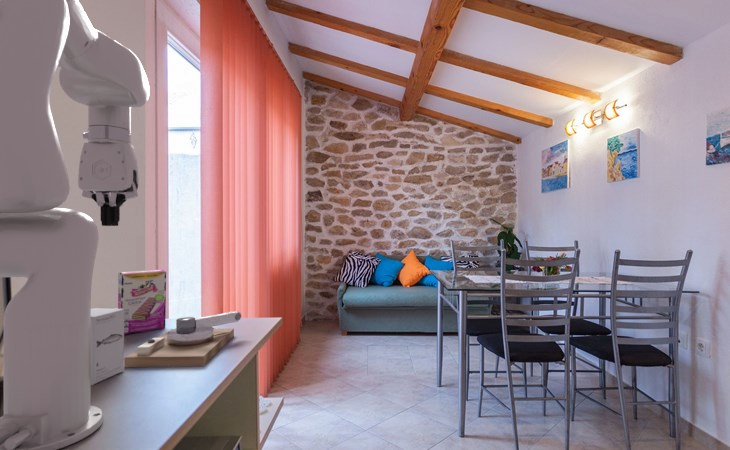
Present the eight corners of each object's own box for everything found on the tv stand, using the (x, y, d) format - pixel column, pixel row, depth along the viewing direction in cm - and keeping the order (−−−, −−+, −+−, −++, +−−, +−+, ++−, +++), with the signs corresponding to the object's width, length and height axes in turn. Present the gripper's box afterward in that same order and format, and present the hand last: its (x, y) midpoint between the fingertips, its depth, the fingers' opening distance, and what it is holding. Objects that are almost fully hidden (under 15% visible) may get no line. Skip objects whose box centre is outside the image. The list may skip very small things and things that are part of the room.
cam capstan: (178, 348, 86) (178, 325, 86) (160, 339, 93) (160, 318, 93) (251, 332, 100) (251, 312, 100) (230, 325, 106) (230, 306, 106)
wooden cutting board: (203, 365, 82) (203, 345, 82) (124, 367, 81) (124, 346, 81) (233, 336, 104) (233, 319, 104) (171, 336, 103) (171, 320, 103)
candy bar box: (121, 336, 104) (121, 273, 104) (117, 332, 108) (117, 272, 108) (166, 328, 112) (166, 270, 112) (161, 325, 115) (161, 269, 115)
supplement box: (93, 386, 72) (93, 316, 72) (59, 383, 73) (59, 314, 73) (125, 371, 79) (125, 308, 79) (94, 368, 80) (94, 306, 80)
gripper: (60, 134, 79) (60, 225, 79) (137, 134, 80) (137, 225, 80) (85, 141, 86) (85, 225, 86) (155, 142, 87) (155, 225, 87)
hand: (110, 225), depth 83 cm, fingers closed
